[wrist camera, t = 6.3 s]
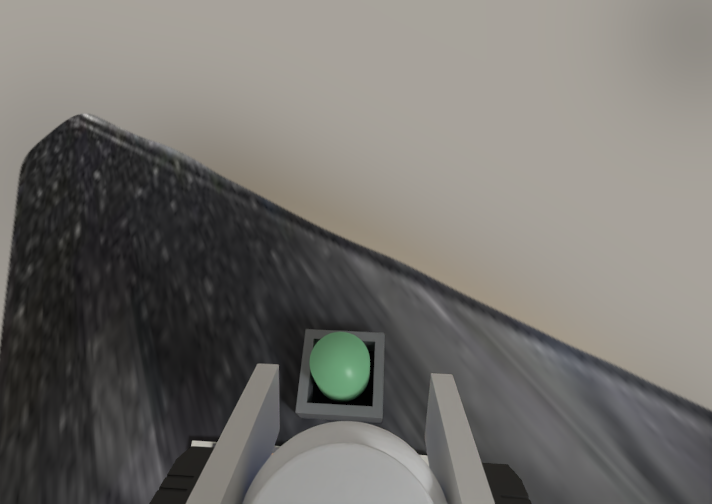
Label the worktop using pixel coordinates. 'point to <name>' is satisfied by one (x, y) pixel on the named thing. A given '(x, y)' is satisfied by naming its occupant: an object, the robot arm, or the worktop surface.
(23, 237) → the worktop surface
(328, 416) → the button frame
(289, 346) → the worktop surface
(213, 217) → the worktop surface
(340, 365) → the button
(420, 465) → the pill bottle
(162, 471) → the worktop surface
